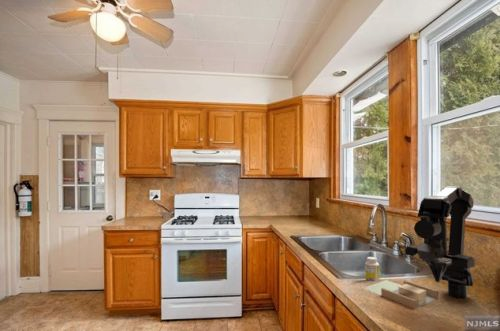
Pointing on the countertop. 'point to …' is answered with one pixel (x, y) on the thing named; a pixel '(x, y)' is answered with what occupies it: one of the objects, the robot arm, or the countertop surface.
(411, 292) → the block
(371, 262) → the supplement bottle
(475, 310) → the countertop surface
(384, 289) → the board
